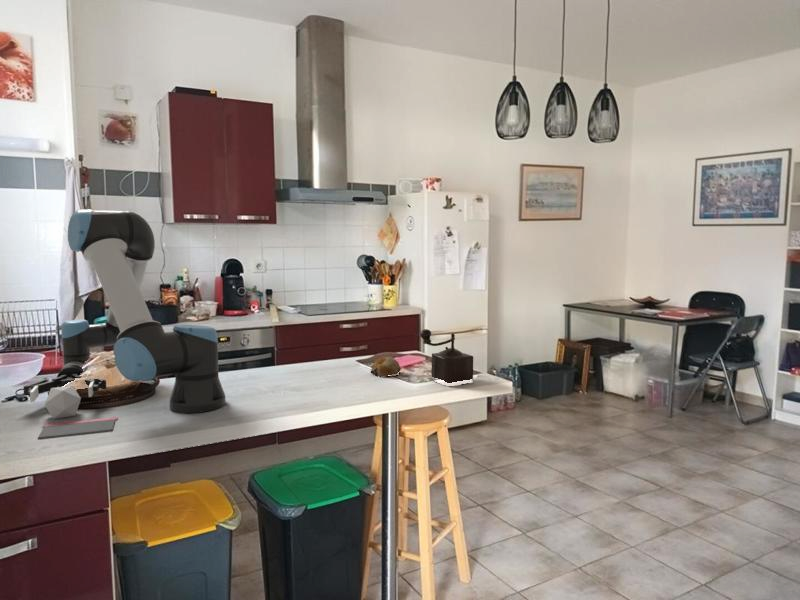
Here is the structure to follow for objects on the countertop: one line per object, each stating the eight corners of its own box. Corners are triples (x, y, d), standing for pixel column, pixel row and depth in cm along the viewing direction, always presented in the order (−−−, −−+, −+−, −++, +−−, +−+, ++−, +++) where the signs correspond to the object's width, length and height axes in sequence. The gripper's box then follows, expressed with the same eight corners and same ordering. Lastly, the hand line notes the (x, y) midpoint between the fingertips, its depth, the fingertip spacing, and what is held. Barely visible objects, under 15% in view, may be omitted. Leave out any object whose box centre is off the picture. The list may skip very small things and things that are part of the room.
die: (82, 411, 162) (59, 384, 161) (93, 401, 157) (69, 374, 156) (56, 429, 156) (32, 402, 154) (67, 420, 150) (41, 391, 149)
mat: (114, 421, 152) (114, 419, 152) (112, 430, 144) (112, 429, 144) (44, 428, 146) (44, 427, 146) (37, 439, 138) (37, 437, 138)
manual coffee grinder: (454, 376, 202) (454, 325, 200) (473, 383, 193) (475, 330, 191) (416, 382, 194) (417, 328, 192) (435, 389, 185) (436, 333, 183)
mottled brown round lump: (394, 388, 200) (404, 367, 199) (367, 375, 200) (377, 354, 199) (395, 381, 210) (404, 361, 209) (369, 368, 210) (378, 349, 209)
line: (117, 417, 155) (117, 416, 155) (117, 419, 153) (117, 419, 153) (44, 425, 148) (44, 424, 148) (42, 427, 146) (42, 426, 146)
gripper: (119, 384, 180) (113, 403, 160) (25, 392, 171) (7, 413, 151) (118, 361, 179) (112, 376, 160) (23, 367, 170) (5, 385, 150)
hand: (61, 394), depth 155 cm, fingers open, 13 cm apart
